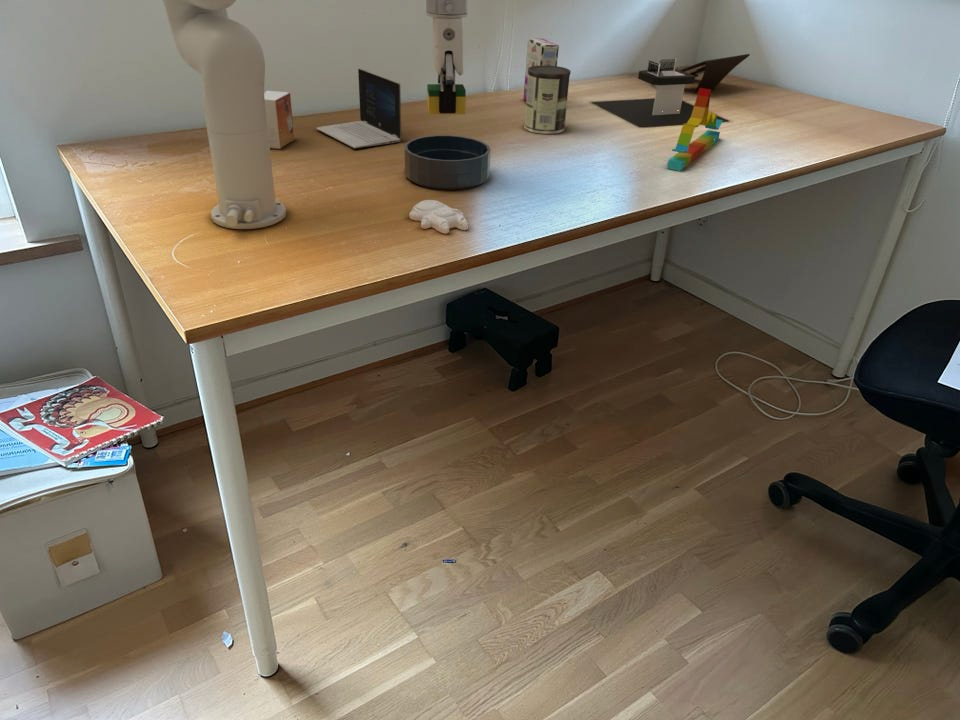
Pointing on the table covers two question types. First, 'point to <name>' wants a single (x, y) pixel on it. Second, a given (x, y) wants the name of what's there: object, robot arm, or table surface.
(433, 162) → the bowl
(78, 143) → the table surface
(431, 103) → the sponge
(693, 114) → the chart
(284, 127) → the small box
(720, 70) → the laptop tray
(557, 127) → the coffee can
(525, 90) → the candy bar box
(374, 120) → the laptop
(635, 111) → the black-topped pedestal
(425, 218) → the white flat figure
